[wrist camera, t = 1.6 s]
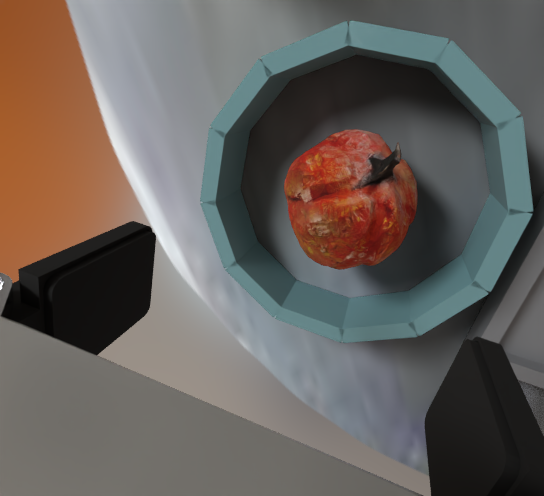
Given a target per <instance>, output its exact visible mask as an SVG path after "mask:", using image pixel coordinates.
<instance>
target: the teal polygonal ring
mask: <svg viewBox="0 0 544 496" xmlns="http://www.w3.org/2000/svg"><path fill="white" fill-rule="evenodd" d="M448 40H449V38H443V37H438V36H433V35H427V34H422V33H417V32H411V31H406V30H400V29H395V28H390V27H384V26H379V25H373V24H368V23H363V22H357V21H352V20H350V23H348V22H347V21H345V22H342V23H340V24H338V25H335V26H333V27H330V28H328V29H326V30H323V31H321V32H319V33H316V34H314V35H312V36H309V37H307V38H304V39H302V40H300V41H297V42H295V43H293V44H290V45H288V46H285V47H283V48H281V49H278V50H276V51H274V52H271V53H269V54H267V55H264V56H262V57H261V59H262V60H261V59H258V60H257V62H256V63H255V64H254V66H253V67H252V69H251V70H250V71H249V73H248V74H247V75H246V77H245V78H244V80H243V81H242V82H241V84H240V85H239V86H238V88H237V89H236V91H235V92H234V93H233V95H232V96H231V97H230V99H229V100H228V102H227V103H226V104H225V106H224V107H223V108H222V110H221V111H220V113H219V114H218V115H217V117H216V118H215V119H214V121H213V122H212V124H211V125H210V126H211V127H212V128H209V133H208V141H207V150H206V158H205V166H204V174H203V182H202V190H201V198H200V201H201V202H203V203H201V207H202V209H203V212H204V215H205V217H206V220H207V223H208V226H209V228H210V231H211V234H212V237H213V239H214V242H215V245H216V248H217V250H218V253H219V256H220V259H221V261H222V264H223V267H224V268H227V269H226V271H227V272H228V273H229V274H230V275H231V276H232V277H233V278H234V279H235V280H236V281H237V282H238V283H239V284H240V285H241V286H242V287H243V288H244V289H245V290H246V291H247V292H248V293H249V294H250V295H251V296H252V297H253V298H254V299H255V300H256V301H257V302H258V303H259V304H260V305H261V306H262V307H263V308H264V309H265V310H266V311H267V312H268V313H269V314H270V315H271V316H272V317H275V316H276V318H275V319H277V320H280V321H283V322H286V323H288V324H291V325H294V326H297V327H299V328H302V329H305V330H307V331H310V332H313V333H316V334H318V335H321V336H324V337H327V338H329V339H332V340H335V341H337V342H340V343H341V340H342V341H343V343H349V342H361V341H374V340H386V339H398V338H410V337H417V334H418V335H419V336H421V335H422V334H424V333H426V332H427V331H429V330H431V329H432V328H434V327H436V326H437V325H439V324H440V323H442V322H444V321H445V320H447V319H449V318H450V317H452V316H454V315H455V314H457V313H458V312H460V311H462V310H463V309H465V308H467V307H468V306H470V305H472V304H473V303H475V302H476V301H478V300H480V299H481V298H483V297H485V296H486V295H488V294H489V293H488V291H490V292H491V291H492V289H493V287H494V285H495V283H496V281H497V280H498V278H499V276H500V274H501V272H502V270H503V268H504V267H505V265H506V263H507V261H508V259H509V257H510V255H511V254H512V252H513V250H514V248H515V246H516V244H517V242H518V241H519V239H520V237H521V235H522V233H523V231H524V229H525V228H526V226H527V224H528V222H529V220H530V218H531V216H532V215H533V214H532V213H531V211H533V203H532V195H531V186H530V177H529V168H528V159H527V150H526V141H525V132H524V123H523V116H519V115H520V114H521V112H520V111H519V110H518V109H517V108H516V107H515V106H514V105H513V104H512V103H511V102H510V101H509V100H508V99H507V98H506V97H505V95H504V94H503V93H502V92H501V91H500V90H499V89H498V88H497V87H496V86H495V85H494V84H493V83H492V82H491V81H490V80H489V79H488V78H487V76H486V75H485V74H484V73H483V72H482V71H481V70H480V69H479V68H478V67H477V66H476V65H475V64H474V63H473V62H472V61H471V60H470V59H469V57H468V56H467V55H466V54H465V53H464V52H463V51H462V50H461V49H460V48H459V47H458V46H457V45H456V44H455V43H454V42H453V41H451V42H450V43H449V44H448V45H447V43H448ZM354 55H361V56H366V57H371V58H376V59H381V60H386V61H391V62H396V63H401V64H405V65H410V66H415V67H420V68H425V69H429V70H430V71H431V72H432V73H433V74H434V75H435V76H436V77H437V78H438V79H439V80H440V81H441V82H442V83H443V84H444V85H445V86H446V87H447V88H448V90H449V91H450V92H451V93H452V94H453V95H454V96H455V97H456V98H457V99H458V100H459V101H460V102H461V103H462V104H463V105H464V106H465V107H466V108H467V109H468V110H469V112H470V113H471V114H472V115H473V116H474V117H475V118H476V119H477V120H478V121H479V122H480V125H481V132H482V139H483V146H484V153H485V160H486V167H487V174H488V181H489V188H490V195H489V197H488V199H487V201H486V203H485V205H484V207H483V210H482V212H481V214H480V216H479V218H478V220H477V222H476V224H475V226H474V229H473V231H472V233H471V235H470V237H469V239H468V241H467V243H466V245H465V248H464V250H463V252H462V254H461V255H460V256H458V257H457V258H455V259H454V260H452V261H451V262H450V263H448V264H447V265H445V266H444V267H442V268H441V269H439V270H438V271H437V272H435V273H434V274H432V275H431V276H429V277H428V278H426V279H425V280H424V281H422V282H421V283H419V284H418V285H416V286H415V287H413V288H412V289H411V290H409V291H402V292H394V293H387V294H379V295H371V296H363V297H356V298H348V297H345V296H342V295H339V294H336V293H333V292H330V291H327V290H324V289H321V288H318V287H315V286H312V285H309V284H306V283H303V282H301V281H298V280H296V279H295V278H294V277H293V276H292V275H291V274H290V273H289V272H288V271H287V270H286V269H285V268H284V267H283V266H282V265H281V264H280V263H279V262H278V261H277V260H276V259H275V258H274V257H273V256H272V255H271V254H270V253H269V252H268V251H267V250H266V249H265V248H264V247H263V246H262V245H261V244H260V243H259V242H258V241H257V238H256V235H255V232H254V229H253V226H252V223H251V219H250V216H249V213H248V210H247V207H246V204H245V201H244V198H243V195H242V192H241V189H240V188H241V182H242V176H243V170H244V164H245V158H246V152H247V146H248V141H249V135H250V130H251V129H252V128H253V126H254V125H255V124H256V123H257V121H258V120H259V119H260V118H261V116H262V115H263V114H264V113H265V111H266V110H267V109H268V108H269V106H270V105H271V104H272V103H273V101H274V100H275V99H276V98H277V96H278V95H279V94H280V93H281V91H282V90H283V89H284V88H285V86H286V85H287V84H288V83H289V81H290V80H292V79H294V78H297V77H299V76H302V75H305V74H307V73H310V72H312V71H315V70H318V69H320V68H323V67H326V66H328V65H331V64H333V63H336V62H339V61H341V60H344V59H346V58H349V57H352V56H354Z"/></svg>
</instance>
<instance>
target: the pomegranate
mask: <svg viewBox="0 0 544 496" xmlns="http://www.w3.org/2000/svg"><path fill="white" fill-rule="evenodd" d="M284 190H285V195H286V199H287V203H288V211H289V217H290V221H291V225H292V228H293V230H294V233H295V235H296V237H297V239H298V241H299V244H300V246H301V247H302V249H303V250H304V252H305V253H306V254H307V256H308V257H309V258H311V259H312V260H314V261H315V262H317V263H319V264H321V265H323V266H329V267H331V268H335V269H340V270H341V269H347V268H351V267H356V266H359V265H361V264H364V265H368V266H370V265H376V264H378V263H380V262H382V261H383V260H385V259H386V258H387V257H388V256H389V255H391V254H392V253H393V252H394V251H396V250H397V249H398V248H399V246H400V245H401V243H402V242H403V240H404V238H405V236H406V234H407V231H408V227H409V225H410V224H411V223H412V222H413V220H414V217H415V214H416V208H417V182H416V180H415V178H414V176H413V173H412V170H411V168H410V167H409V165H408V164H407V162H406V161H405V160H402V159H401V150H400V146H399V143H397V146H396V149H395V151H394V152H393V153H392V152H391V150H390V148H389V146H388V145H387V144H386V143H385V142H384V140H383V139H382V137H381V136H380V135H379V134H374V133H372V132H369V131H364V130H357V129H354V130H344V131H341V132H339V133H335V134H333V135H330V136H329V137H327V138H326V139H325V140H324V141H322V142H321V143H319V144H318V145H316V146H314V147H313V148H311V149H310V150H308V151H306V152H305V153H304V154H302V155H301V156H299V157H298V158H296V159H295V160H294V162H293V163H292V164H291V166H290V168H289V170H288V174H287V176H286V179H285V184H284Z"/></svg>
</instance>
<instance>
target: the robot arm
mask: <svg viewBox="0 0 544 496" xmlns="http://www.w3.org/2000/svg"><path fill="white" fill-rule="evenodd" d="M155 242H156V235H155V233H153V232H152V228H151V227H149V226H146V225H143V224H140V223H137V222H134V221H132V222H129V223H126V224H124V225H122V226H119V227H117V228H115V229H112V230H110V231H108V232H105V233H103V234H100V235H98V236H96V237H93V238H91V239H89V240H86V241H84V242H82V243H79V244H77V245H75V246H72V247H70V248H68V249H65V250H63V251H61V252H58V253H56V254H53V255H51V256H49V257H47V258H44V259H42V260H40V261H37V262H35V263H32V264H30V265H28V266H25V267H23V268H21V269H19V281H17V282H15V283H12V280H11V278H10V277H9V276H7V275H5V274H3V273H0V496H423V495H420V494H418V493H416V492H414V491H411V490H409V489H407V488H404V487H402V486H400V485H397V484H395V483H393V482H391V481H388V480H386V479H383V478H381V477H379V476H377V475H374V474H372V473H370V472H367V471H365V470H363V469H361V468H358V467H356V466H354V465H351V464H349V463H347V462H345V461H342V460H340V459H337V458H335V457H333V456H331V455H328V454H326V453H324V452H321V451H319V450H317V449H315V448H312V447H310V446H308V445H305V444H303V443H301V442H298V441H296V440H294V439H291V438H289V437H286V436H284V435H282V434H280V433H277V432H275V431H272V430H270V429H268V428H265V427H263V426H261V425H258V424H256V423H253V422H251V421H249V420H247V419H244V418H242V417H240V416H237V415H235V414H233V413H230V412H228V411H226V410H223V409H221V408H219V407H216V406H214V405H212V404H209V403H207V402H204V401H202V400H200V399H198V398H195V397H193V396H191V395H188V394H186V393H184V392H181V391H179V390H177V389H174V388H172V387H170V386H167V385H165V384H163V383H160V382H158V381H156V380H153V379H151V378H149V377H146V376H144V375H142V374H139V373H137V372H134V371H132V370H130V369H128V368H125V367H123V366H120V365H118V364H116V363H114V362H111V361H109V360H106V359H104V358H102V357H99V356H97V355H98V354H99V353H100V352H101V351H103V350H104V349H105V348H106V347H107V346H109V345H110V344H111V343H112V342H114V340H116V339H117V338H118V337H120V336H121V335H122V334H123V333H124V332H126V331H127V330H128V329H129V328H130V327H132V326H133V325H134V324H135V323H136V322H137V321H139V320H140V319H141V318H142V317H144V316H145V315H146V313H147V312H148V310H149V307H150V301H151V289H152V276H153V266H154V254H155ZM425 435H426V445H427V456H428V466H429V477H430V487H431V496H544V437H543V434H542V432H541V430H540V428H539V426H538V423H537V421H536V419H535V417H534V415H533V412H532V410H531V408H530V406H529V404H528V401H527V399H526V397H525V395H524V393H523V390H522V388H521V386H520V384H519V382H518V379H517V377H516V375H515V373H514V371H513V369H512V366H511V364H510V362H509V360H508V358H507V355H506V353H505V351H504V349H503V347H502V345H501V344H498V343H495V342H492V341H489V340H486V339H483V338H480V337H475V338H474V339H473V340H469V339H466V340H465V341H464V343H463V344H462V346H461V348H460V350H459V352H458V354H457V356H456V358H455V360H454V362H453V363H452V365H451V367H450V369H449V371H448V373H447V375H446V377H445V379H444V381H443V383H442V384H441V386H440V388H439V390H438V392H437V394H436V396H435V398H434V400H433V402H432V404H431V405H430V407H429V409H428V411H427V414H426V417H425Z"/></svg>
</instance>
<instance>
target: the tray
mask: <svg viewBox="0 0 544 496" xmlns="http://www.w3.org/2000/svg"><path fill="white" fill-rule="evenodd" d="M475 337H480V338H483V339H486V340H489V341H492V342H495V343H498V344H501V345H502V347H503V349H504V351H505V353H506V355H507V358H508V360H509V362H510V364H511V366H512V369H513V371H514V373H515V375H516V377H517V379H518V380H520V381H523V382H526V383H529V384H532V385H534V386H537V387H540V388H543V389H544V193H543V195H542V197H541V199H540V201H539V202H538V204H537V206H536V208H535V210H534V212H533V215H532V216H531V218H530V220H529V222H528V224H527V226H526V228H525V229H524V231H523V233H522V235H521V237H520V239H519V241H518V242H517V244H516V246H515V248H514V250H513V252H512V254H511V255H510V257H509V259H508V261H507V263H506V265H505V267H504V268H503V270H502V272H501V274H500V276H499V278H498V280H497V281H496V283H495V285H494V287H493V289H492V291H491V292H490V294H489V296H488V297H487V299H486V301H485V303H484V305H483V307H482V309H481V310H480V312H479V314H478V316H477V318H476V320H475V322H474V323H473V325H472V327H471V329H470V331H469V333H468V335H467V336H466V338H465V340H466V339H469V340H473V339H474V338H475ZM465 340H464V341H465ZM463 343H464V342H463Z"/></svg>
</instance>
